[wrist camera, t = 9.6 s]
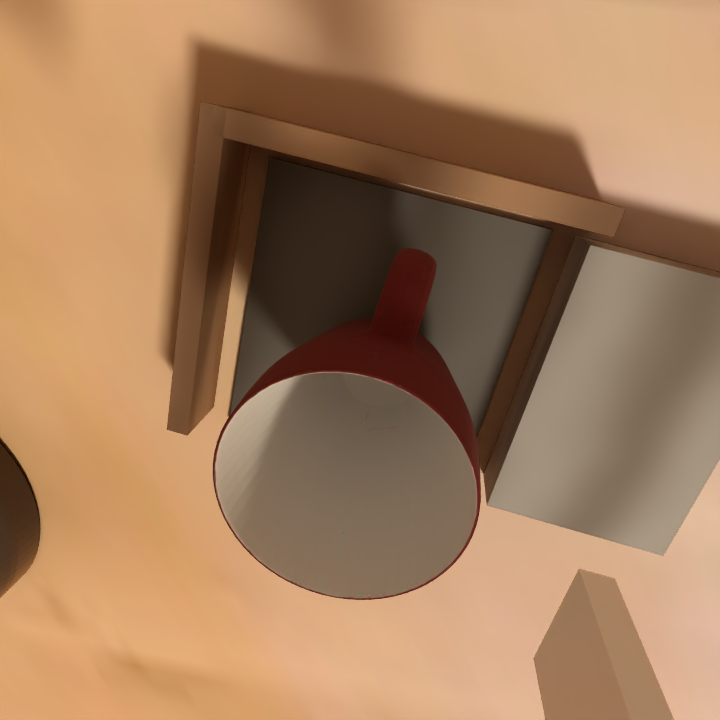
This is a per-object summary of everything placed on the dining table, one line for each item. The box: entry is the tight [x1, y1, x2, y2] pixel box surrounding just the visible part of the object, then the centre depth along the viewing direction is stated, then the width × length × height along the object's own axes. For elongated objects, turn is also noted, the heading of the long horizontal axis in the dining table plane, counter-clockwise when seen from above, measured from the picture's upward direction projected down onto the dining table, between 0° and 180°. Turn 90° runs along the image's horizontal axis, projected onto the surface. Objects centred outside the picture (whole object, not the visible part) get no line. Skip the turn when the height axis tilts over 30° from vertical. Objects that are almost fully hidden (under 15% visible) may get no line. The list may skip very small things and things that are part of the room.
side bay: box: [167, 102, 720, 556], centre depth 23 cm, size 23×14×3 cm, turn 76°
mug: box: [213, 248, 481, 600], centre depth 20 cm, size 11×8×10 cm
